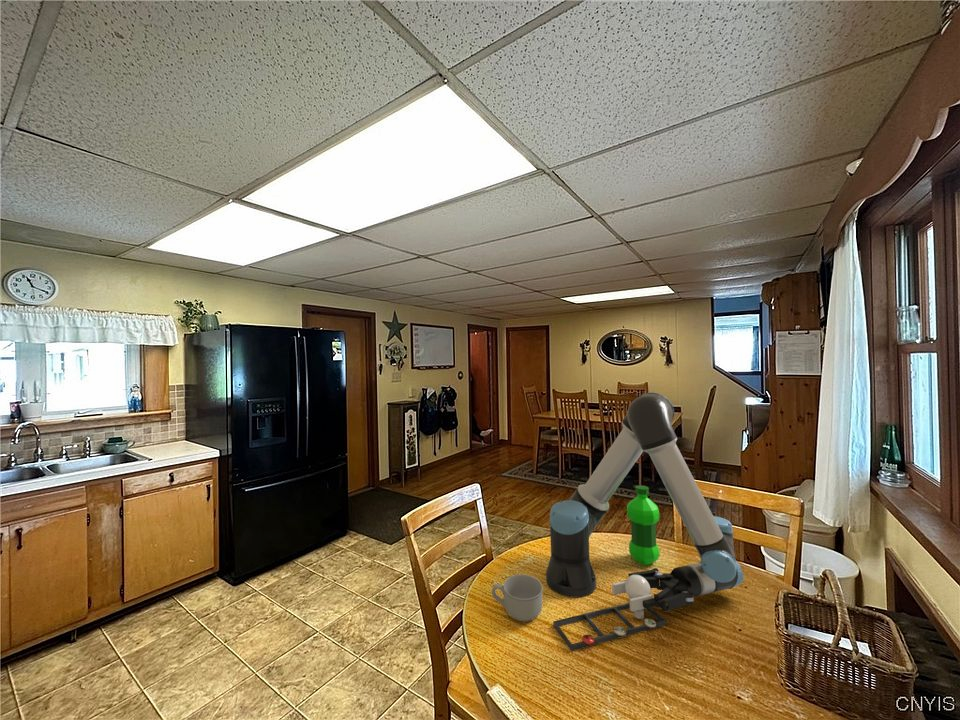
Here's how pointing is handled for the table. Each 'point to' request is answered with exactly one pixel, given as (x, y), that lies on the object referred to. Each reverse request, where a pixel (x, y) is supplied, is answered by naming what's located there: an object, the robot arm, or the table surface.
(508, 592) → the teacup
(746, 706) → the table surface
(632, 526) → the plastic bottle
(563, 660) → the table surface
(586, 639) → the dark grey flat frame
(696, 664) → the table surface
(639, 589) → the lightbulb
